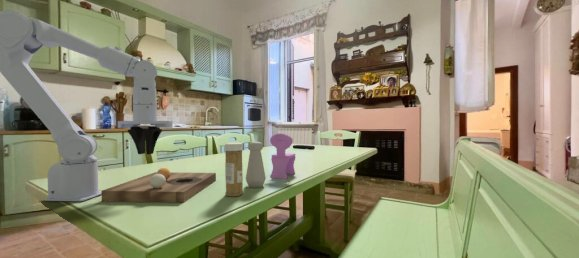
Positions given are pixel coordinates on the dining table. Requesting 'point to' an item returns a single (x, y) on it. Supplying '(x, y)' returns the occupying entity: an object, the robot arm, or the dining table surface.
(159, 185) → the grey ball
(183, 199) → the board
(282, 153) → the toy chair
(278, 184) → the dining table surface
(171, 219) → the dining table surface
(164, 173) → the orange ball
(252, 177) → the salt shaker
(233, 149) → the spice jar
